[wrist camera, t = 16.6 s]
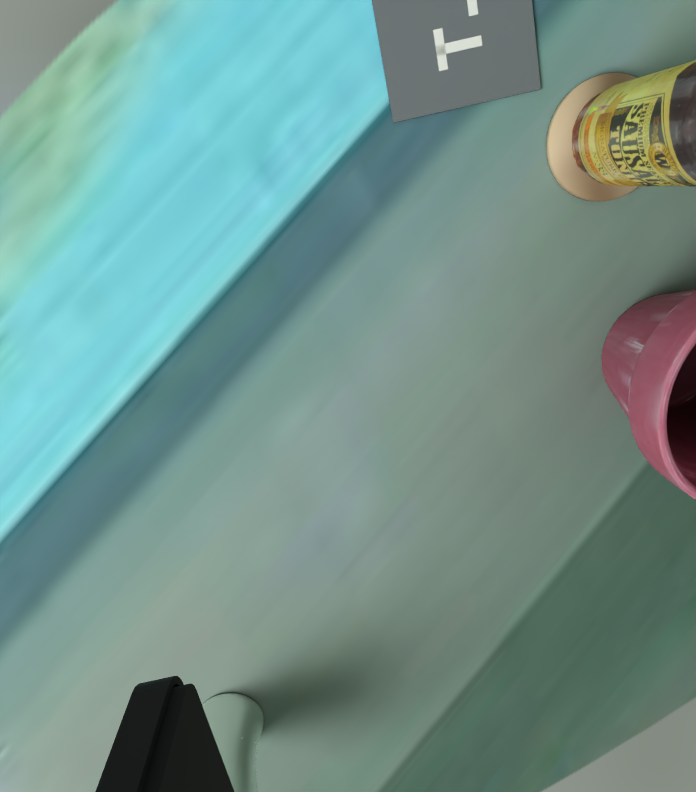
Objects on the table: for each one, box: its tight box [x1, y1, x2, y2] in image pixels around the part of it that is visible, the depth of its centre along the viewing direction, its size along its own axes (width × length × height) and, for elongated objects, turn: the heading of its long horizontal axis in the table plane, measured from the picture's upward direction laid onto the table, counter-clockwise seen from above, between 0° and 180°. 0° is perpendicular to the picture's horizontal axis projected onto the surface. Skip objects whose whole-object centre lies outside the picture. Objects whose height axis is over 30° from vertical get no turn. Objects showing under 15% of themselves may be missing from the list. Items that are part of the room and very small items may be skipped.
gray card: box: [372, 0, 541, 123], centre depth 38 cm, size 10×10×1 cm
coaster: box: [546, 73, 638, 201], centre depth 40 cm, size 8×8×1 cm
